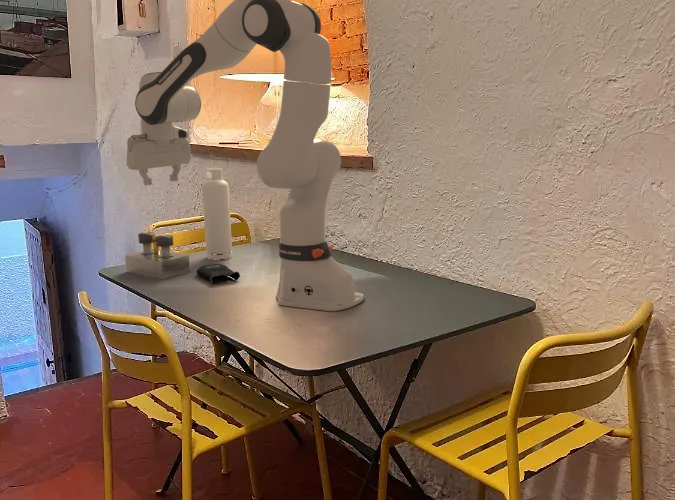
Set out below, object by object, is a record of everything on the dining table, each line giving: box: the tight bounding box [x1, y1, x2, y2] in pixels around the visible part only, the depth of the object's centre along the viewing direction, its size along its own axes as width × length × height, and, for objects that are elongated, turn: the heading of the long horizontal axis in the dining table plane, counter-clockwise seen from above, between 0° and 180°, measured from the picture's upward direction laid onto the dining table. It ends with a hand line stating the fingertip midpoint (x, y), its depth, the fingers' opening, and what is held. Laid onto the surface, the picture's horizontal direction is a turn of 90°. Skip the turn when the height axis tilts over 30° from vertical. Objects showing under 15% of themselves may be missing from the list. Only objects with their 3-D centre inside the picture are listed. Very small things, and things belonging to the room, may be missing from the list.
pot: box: [152, 235, 160, 255], centre depth 200 cm, size 2×2×5 cm
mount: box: [125, 248, 191, 280], centre depth 201 cm, size 16×10×5 cm, turn 54°
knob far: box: [137, 231, 156, 255], centre depth 202 cm, size 5×5×7 cm
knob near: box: [156, 234, 175, 259], centre depth 198 cm, size 5×5×7 cm
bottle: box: [201, 167, 233, 261], centre depth 216 cm, size 8×8×28 cm
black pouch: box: [196, 263, 241, 284], centre depth 194 cm, size 9×6×15 cm
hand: (161, 183), depth 194 cm, fingers open, 8 cm apart
